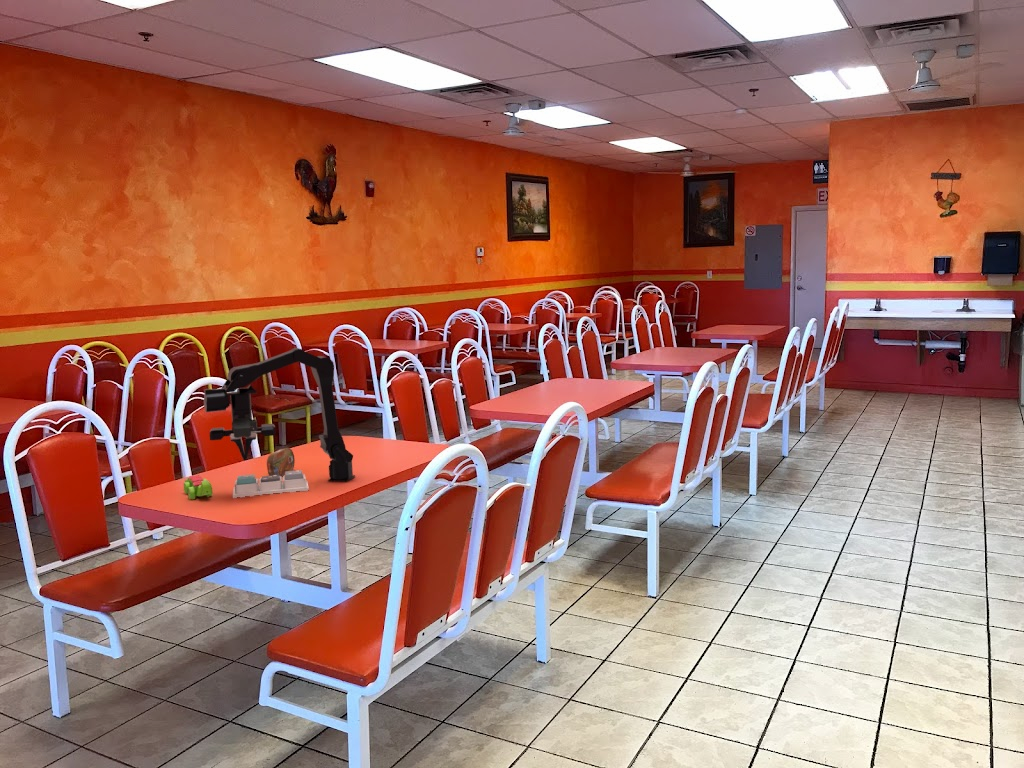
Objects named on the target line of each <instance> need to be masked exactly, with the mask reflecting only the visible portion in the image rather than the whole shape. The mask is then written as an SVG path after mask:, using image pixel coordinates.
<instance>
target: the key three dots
mask: <svg viewBox="0 0 1024 768" xmlns="http://www.w3.org/2000/svg"><path fill="white" fill-rule="evenodd" d="M261 478H262V482H273V481H279V475H271V476H269V475H261Z"/></svg>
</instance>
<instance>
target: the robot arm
mask: <svg viewBox="0 0 1024 768" xmlns="http://www.w3.org/2000/svg"><path fill="white" fill-rule="evenodd" d="M295 363H301V364H302V365H305V366H307V367H309V368H310V369H311V373H312V375H313V378H314V380H315V382H316V385H317V387H318V393H319V394H318V395H319V402H320V408H321V409H320V410H321V415H322V423H323V434H319V435H318V437H319V441H320V445H319V448H320V449H322V451H323V452H324V453H325V454H326V455H328V457H329V459H330V461H329V465H328V475H329V479H328V481H329V482H349V481H351V480H352V479H354V478H356V475H354V474H353V473H354V472H353V460H354V459H353V458H354V454H352V453H351V452H350V451H349V450H347V449H346V447H347V446H346V445H345V441H344V438H343V436H342V434H341V431H340V429H339V425H338V418H337V410H336V404H335V397H334V390H333V389H334V388H333V382H334V378H335V362H334V361H333V360H332V359H331V358H329V357H327V356H322V355H318V356H316V355H314V354H312V353H309V352H307V351H305V350H303V349H302V348H299V347H293V348H292V349H290V350H288V351H285V352H283V353H280V354H277V355H274V356H272V357H269V358H266V359H264V360H261V361H259V362H255V363H249V364H243V365H239V366H234V367H232V368H230V369H229V371H228V373H227V379H226V380H225V382H223V385H222V387H220V388H205V389H203V390H204V391H203V392H204V395H203V398H204V399H203V408H204V412H205V413H212V412H224V411H226V410H227V409H228V408H229V407H230V408H231V429H225V427H224V426H223V427H212V428H211V429H210V430H209V441H220V440H222V439H223V438H224V437H230V442H234V443H235V445H236V446H237V448H238V451H239V452H240V455H241V457H242V459H243V461H247V459H248V454H249V452H250V447H251V445H252V442H253V440H254V441H255V440H257V434H260V435H261V434H262V435H263V436H264V437H269V436H270V437H272V436H273V437H274V436H276V435H277V434H276V426H275V424H274V423H263V424H261V426H259V427H258V421H257V419H256V418H255V419H253V412H252V401H251V400H252V399H251V398H252V397H251V394H257V393H258V391H257V389H255V388H254V387H253V385H252V383H254V382H256V380H258V379H259V378H260V377H262V376H264V375H267V374H269V373H272V372H274V371H277V370H279V369H280V370H281V369H283V368H285V367H288V366H289V365H290V366H291V365H293V364H295ZM244 437H245V445H244V444H243V440H242V438H244ZM244 447H245V448H244Z"/></svg>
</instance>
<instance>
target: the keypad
mask: <svg viewBox="0 0 1024 768" xmlns="http://www.w3.org/2000/svg"><path fill="white" fill-rule="evenodd" d="M302 475H303V479H293V480H286V477H285V476H283V477H281V476H279V481H273V482H262V477H260V478H258V477H257V478H256V477H255V483H252V484H242V485H238V484H237V479H236V480H235V481H234V487H233V488H232V489H233V491H232V498H233V499H237V497H240V498H246V497H245V496H250V497H255V496H254V495H260V496H263V495H262V494H270V495H274V494H273V493H280V494H283V493H282V492H290V493H297V492H296V491H300V492H309V491H310V487H309V484H308V483H309V482H308V480H306V474H305V473H302ZM308 490H309V491H308Z"/></svg>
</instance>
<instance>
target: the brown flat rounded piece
mask: <svg viewBox="0 0 1024 768" xmlns="http://www.w3.org/2000/svg"><path fill="white" fill-rule="evenodd" d="M295 462H296V460H295V455H294V452H293V449H291V448H290V447H285V448H280V449H278V450H276V451H274V452H272V453H270V454H269V455H268V457H267V459H266V468H267V469H266V470H267V474H268V476H271V475H279V476H281V477H282V476H284V475H285V472H286V471H294V468H295ZM282 478H283V477H282Z"/></svg>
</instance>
